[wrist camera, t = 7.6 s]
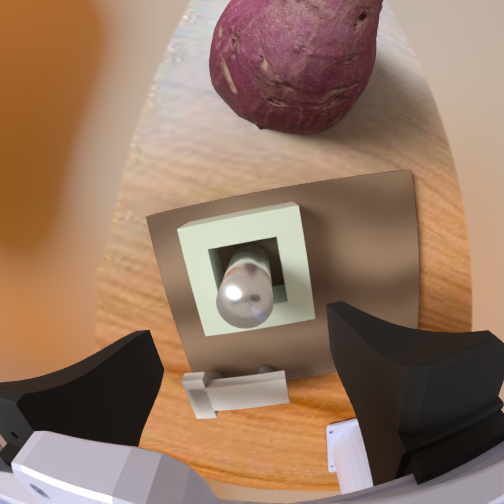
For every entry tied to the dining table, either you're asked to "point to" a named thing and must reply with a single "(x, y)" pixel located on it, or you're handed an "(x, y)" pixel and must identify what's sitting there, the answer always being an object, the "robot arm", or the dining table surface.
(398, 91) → the dining table surface
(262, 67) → the vegetable
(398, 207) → the board
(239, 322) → the pin
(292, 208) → the square hollow frame
